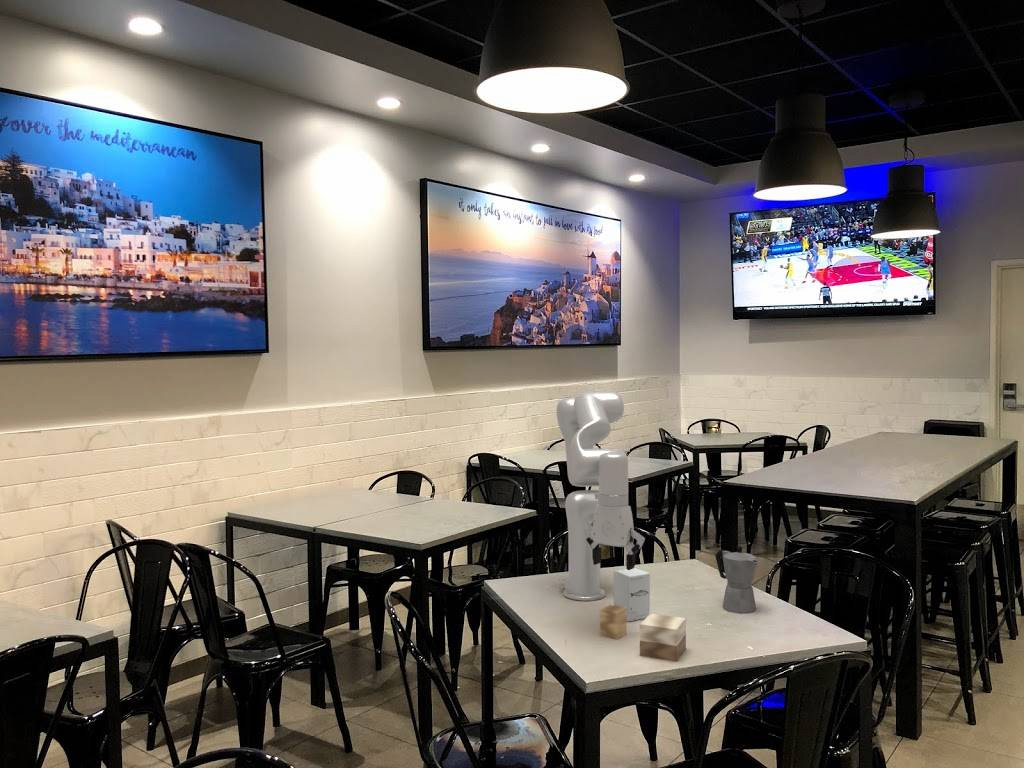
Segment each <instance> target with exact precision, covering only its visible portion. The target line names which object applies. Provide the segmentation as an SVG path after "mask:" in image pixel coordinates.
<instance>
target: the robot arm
mask: <svg viewBox="0 0 1024 768" xmlns="http://www.w3.org/2000/svg"><path fill="white" fill-rule="evenodd" d="M624 405H625V404H624V400H623V397H622V396H621V395H620V394H619V392H617V391H613V390H602V391H601V390H595V391H593V390H592V391H583V392H580V393H579V394H577V395H576V396H570V397H565V398H563V399H560V400H559V401H558V402H557V406H556V419H557V423H558V426H559V427H558V428H559V429H560V433H561V435H562V438H563V441H564V444H565V456H566V466H567V468H566V469H567V478H568V481H569V483H570V484H571V485H572V486H575V487H583V488H584V487H585V488H586V487H598V489H597V490H596V489H587V490H576V491H572V492H571V493H569V494H567V497H565V502H564V504H565V505H564V506H565V513H566V519H567V531H568V532H567V533H568V540H567V541H568V542H567V543H568V578H567V577H564V576H559V578H558V582H557V583H558V585H560V586H564V587H565V588H564V589H563V594H562V595H563V596H564V597H566V598H567V599H570V600H574V601H585V602H586V601H589V602H591V601H597V600H600V599H603V598H604V597H606V590H605V589H604V588H602V587H601V563H602V547H601V545H604V546H610V547H618V548H624V549H625V550H626V552H627V554H626V559H625V560H626V566H625V569H627V570H631V569H633V568H635V566H636V553H638V551H639V550H640V549H642V547H643V545H644V542H645V540H646V538H645V537H644V536H643V535H641V534H640V533H639V532H637V531H636V530H634V529H635V528H634V519H633V513H632V507H631V505H629V458H628V455H627V454H626V453H625V452H624V450H623V449H620V448H614V447H613V448H594V445H597V444H598V443H600V442H602V441H604V440H605V439H607V438H608V436H609V435H610V433H611V424H613V423H615V422H618V421H619V420H620V419H621V418H623V415H624V412H625V411H624V410H625V406H624ZM634 539H635V540H636V543H635V544H634Z"/></svg>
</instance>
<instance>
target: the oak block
mask: <svg viewBox="0 0 1024 768" xmlns="http://www.w3.org/2000/svg"><path fill="white" fill-rule="evenodd" d="M599 614H600V615H599V622H600V623H599V629H600V630H599V635H600V637H604V638H607V639H612V640H619V639H621V638H622V637H624V636H626V635H628V634H627V626H628V624H627V622H628V621H627V608H625V607H620V606H615V605H614V604H609V603H608V604H607V605H606V606H604V607H602V608H600V610H599Z"/></svg>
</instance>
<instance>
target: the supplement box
mask: <svg viewBox="0 0 1024 768" xmlns="http://www.w3.org/2000/svg"><path fill="white" fill-rule="evenodd" d="M650 577H651V575H650V572H648V571H645V570H643V569H639V568H636V567H634V568H633V569H631V570H627V569H626V568H624V569H617V570H613V605H615V606H620V607H625V608H627V622H628V623H630V622H632V621H633V622H634V621H636V620H637V621H638V620H645V619H646V618H647V616H648V615H649V614H650V610H651V609H650V601H651V600H650V599H651V598H650V596H651V595H650V593H651V592H650V590H651V589H650V586H651V585H650V584H651V583H650V580H651V579H650Z"/></svg>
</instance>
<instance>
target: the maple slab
mask: <svg viewBox="0 0 1024 768" xmlns="http://www.w3.org/2000/svg"><path fill="white" fill-rule="evenodd" d="M686 632H687V618H684V617H678V616H672V615H665V614H658V613H657V614H656V613H652V612H651V613H650V612H649V615H648V616H647V618H644V619H643V620H642V622H640V624H639V642H640V641H646V642H653V643H659V644H666V645H672V646H677V645H678V644H679V642H680V641H681V640H682V639H683V637H684V636H685V635H686V636H687V633H686Z"/></svg>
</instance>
